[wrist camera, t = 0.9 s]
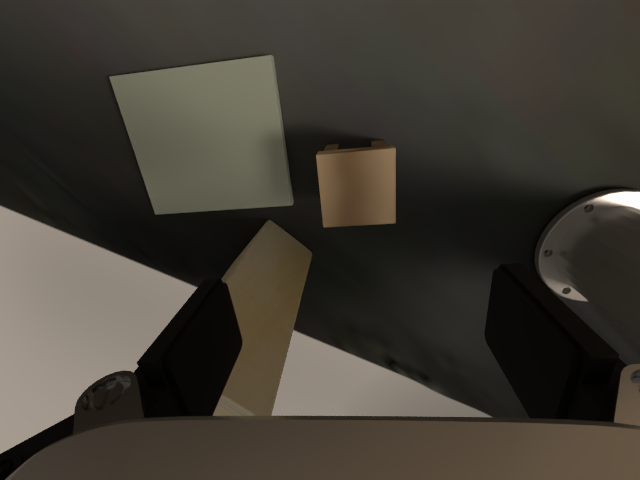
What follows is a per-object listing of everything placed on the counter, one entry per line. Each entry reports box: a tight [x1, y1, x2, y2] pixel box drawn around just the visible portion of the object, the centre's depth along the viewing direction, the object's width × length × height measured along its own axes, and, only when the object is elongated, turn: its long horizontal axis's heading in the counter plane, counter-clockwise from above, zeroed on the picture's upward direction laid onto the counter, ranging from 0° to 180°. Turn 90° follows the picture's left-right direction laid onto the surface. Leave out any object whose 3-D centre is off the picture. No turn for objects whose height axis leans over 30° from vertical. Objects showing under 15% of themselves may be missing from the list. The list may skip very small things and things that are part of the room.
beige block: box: [213, 220, 312, 416], centre depth 27 cm, size 8×7×21 cm
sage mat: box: [109, 55, 294, 215], centre depth 31 cm, size 16×14×1 cm
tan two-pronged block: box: [316, 140, 396, 227], centre depth 28 cm, size 6×6×8 cm
